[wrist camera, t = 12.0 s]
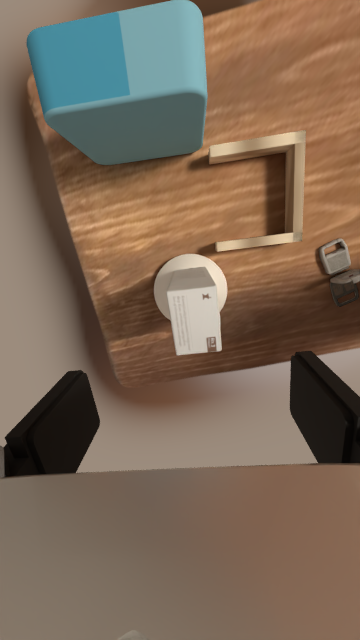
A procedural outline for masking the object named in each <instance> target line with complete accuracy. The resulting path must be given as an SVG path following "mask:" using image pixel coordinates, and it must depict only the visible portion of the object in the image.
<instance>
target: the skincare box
mask: <svg viewBox="0 0 360 640" xmlns="http://www.w3.org/2000/svg"><path fill="white" fill-rule="evenodd" d="M166 295H167V301H168V307H169V313H170V319H171V325H172V332H173V338H174V344H175V349H176V355H186V354H196V353H206V352H217V351H221V350H222V346H221V333H220V314H219V306H218V294H217V285H216V284H215V282H214V280H213V279H212V277H211V275H210V273H209V272H208V270H207V268H206V267H196V268H188V269H180V270H175V271H174V273H173V275H172V278H171V281H170V283H169V286H168V289H167V291H166Z"/></svg>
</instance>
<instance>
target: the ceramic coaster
mask: <svg viewBox="0 0 360 640" xmlns="http://www.w3.org/2000/svg"><path fill="white" fill-rule="evenodd" d="M196 267H206V268H207V270H208V272H209V273H210V275H211V277H212V279H213V280H214V282H215V284H216V285H217V294H218V306H219V312H220V311H221V309H222V308H223V306H224V304H225V301H226V297H227V283H226V279H225V277H224V274H223V273H222V271H221V269H220V268H219V267H218V266H217V265H216V264H215V263H214V262H213V261H212V260H210V259H209V258H207V257H205V256H202V255H198V254H184V255H180V256H177V257H175V258H173V259H171V260H170V261H168V262H167V263H166V264H165V265H164V266H163V267H162V268H161V270H160V271H159V273H158V275H157V277H156V280H155V284H154V297H155V301H156V304H157V306H158V308H159V310H160V311H161V312H162V314H163V315H164V316H165V317H166V318H168V319H169V320H171V319H170V313H169V307H168V301H167V295H166V291H167V289H168V286H169V283H170V281H171V278H172V275H173V273H174V271H175V270H180V269H188V268H196Z"/></svg>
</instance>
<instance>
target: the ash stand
mask: <svg viewBox="0 0 360 640" xmlns="http://www.w3.org/2000/svg"><path fill="white" fill-rule="evenodd" d="M305 140H306V130H303V131H297V132H291V133H285V134H279V135H273V136H267V137H261V138H255V139H249V140H243V141H237V142H231V143H225V144H219V145H213V146H210V148H209V153H208V157H209V165H210V164H216V163H222V162H228V161H234V160H241V159H247V158H253V157H259V156H266V155H272V154H278V153H284V152H286V184H285V233H283V234H275V235H268V236H260V237H252V238H245V239H237V240H229V241H222V242H215V250H216V251H217V252H218V251H226V250H234V249H242V248H249V247H257V246H265V245H273V244H281V243H289V242H297V241H302V226H303V198H304V169H305Z"/></svg>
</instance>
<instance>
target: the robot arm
mask: <svg viewBox="0 0 360 640" xmlns="http://www.w3.org/2000/svg"><path fill="white" fill-rule="evenodd" d="M290 411H291V415H292V417H293V419H294V420H295V422H296V424H297V426H298V428H299V429H300V431H301V433H302V434H303V437H304V438H305V440H306V442H307V444H308V445H309V447H310V449H311V451H312V453H313V454H314V456H315V458H316V460H317V462H318V463H313V464H286V465H285V464H284V465H256V466H228V467H202V468H201V467H200V468H175V469H152V470H130V471H129V470H128V471H109V472H108V471H107V472H86V473H76V471H77V469H78V467H79V465H80V463H81V461H82V459H83V457H84V455H85V454H86V452H87V450H88V447H89V446H90V444H91V442H92V440H93V437H94V435H95V434H96V432H97V430H98V428H99V425H100V419H99V415H98V412H97V408H96V405H95V401H94V398H93V395H92V391H91V387H90V384H89V380H88V377H87V374H86V373H83V371H81V370H78V371H68V372H67V373H66V374H65V375H64V376H63V377H62V378H61V379H60V380H59V381H58V382H57V383H56V384H55V386H54V387H53V388H52V389H51V390H50V391H49V392H48V393H47V394H46V395H45V396H44V397H43V398H42V399H41V400H40V401H39V402H38V403H37V404H36V405H35V406H34V408H32V409H31V411H30V412H29V413H28V414H27V415H26V416H25V417H24V418H23V419H22V420H21V421H20V422H19V423H18V424H17V425H16V426H15V427H14V428H13V429H12V430H11V431H10V432H9V433H8V434H7V436H6V437H5V439H6V442H7V444H6V445H5V447H4V448H3V447H2V446H0V640H360V397H359V396H358V395H357V394H356V393H355V392H354V391H353V390H352V389H351V388H350V387H349V386H348V385H347V384H346V383H344V382H343V381H342V380H341V379H340V378H339V377H338V376H337V375H336V374H335V373H334V372H333V371H332V370H331V369H330V368H329V367H328V366H327V365H325V364H324V363H323V362H322V361H321V360H320V359H319V358H318V357H317V356H316V355H315V354H314V353H313V352H312V351H303V352H296V354H295V356H292V357H291V381H290Z"/></svg>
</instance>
